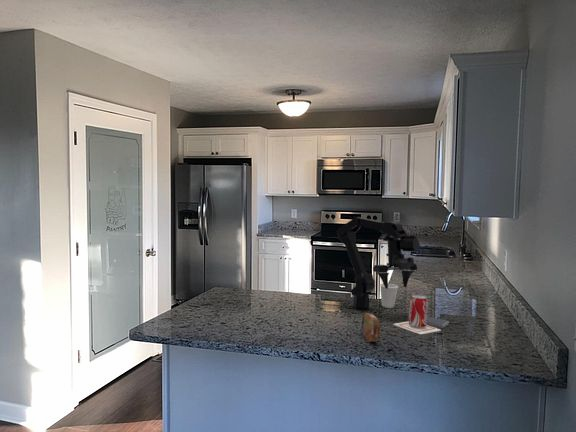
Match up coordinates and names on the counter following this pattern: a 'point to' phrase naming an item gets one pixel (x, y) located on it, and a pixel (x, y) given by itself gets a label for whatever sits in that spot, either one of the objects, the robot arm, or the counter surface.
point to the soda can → (418, 311)
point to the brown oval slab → (370, 327)
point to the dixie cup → (388, 295)
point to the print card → (417, 330)
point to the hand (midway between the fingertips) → (396, 287)
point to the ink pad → (437, 322)
